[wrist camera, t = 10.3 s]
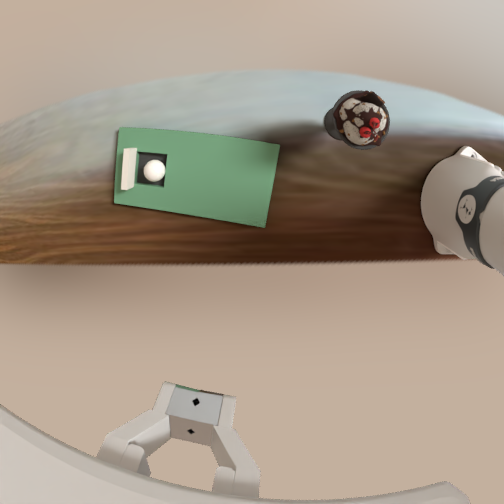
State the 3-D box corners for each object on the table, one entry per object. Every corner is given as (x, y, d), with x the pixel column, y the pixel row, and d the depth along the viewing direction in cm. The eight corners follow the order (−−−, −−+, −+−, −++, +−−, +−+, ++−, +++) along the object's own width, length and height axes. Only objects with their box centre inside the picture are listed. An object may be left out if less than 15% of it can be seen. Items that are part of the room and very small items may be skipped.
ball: (170, 161, 39) (149, 161, 37) (167, 183, 40) (147, 183, 38) (161, 158, 41) (141, 158, 39) (158, 179, 42) (139, 179, 40)
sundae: (335, 154, 39) (366, 165, 25) (309, 114, 37) (329, 102, 23) (372, 133, 37) (419, 134, 23) (348, 93, 35) (385, 73, 21)
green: (280, 144, 39) (280, 145, 35) (265, 225, 43) (264, 233, 40) (123, 127, 39) (111, 127, 36) (117, 201, 44) (106, 206, 40)
